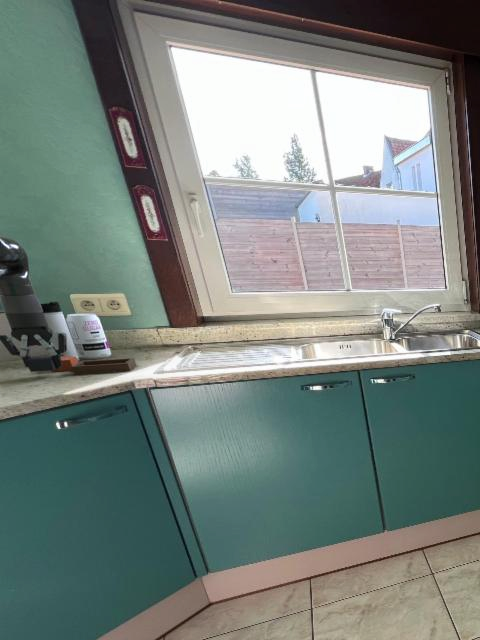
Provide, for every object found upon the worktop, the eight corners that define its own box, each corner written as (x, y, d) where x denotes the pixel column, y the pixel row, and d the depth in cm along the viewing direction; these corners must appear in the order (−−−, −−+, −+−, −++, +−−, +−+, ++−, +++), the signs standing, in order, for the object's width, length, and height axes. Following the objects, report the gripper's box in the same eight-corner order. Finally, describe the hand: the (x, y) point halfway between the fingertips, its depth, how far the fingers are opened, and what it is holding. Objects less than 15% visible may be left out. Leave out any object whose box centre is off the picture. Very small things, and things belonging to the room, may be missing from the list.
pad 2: (52, 372, 155) (47, 361, 154) (58, 368, 160) (54, 357, 159) (73, 370, 158) (69, 359, 157) (79, 366, 163) (75, 356, 161)
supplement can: (91, 355, 179) (76, 313, 174) (117, 355, 181) (103, 313, 175) (74, 359, 172) (57, 315, 166) (101, 359, 173) (86, 316, 168)
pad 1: (30, 371, 146) (25, 360, 144) (37, 367, 150) (33, 356, 149) (54, 370, 148) (49, 359, 147) (60, 366, 153) (56, 355, 152)
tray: (74, 374, 153) (71, 366, 152) (83, 369, 160) (80, 361, 159) (130, 371, 159) (127, 363, 158) (136, 365, 167) (134, 358, 166)
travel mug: (68, 364, 166) (45, 302, 158) (48, 363, 166) (24, 302, 158) (86, 360, 172) (64, 301, 164) (67, 359, 171) (44, 300, 164)
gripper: (-19, 312, 136) (6, 372, 143) (53, 311, 144) (74, 368, 150) (-7, 309, 142) (16, 367, 148) (62, 308, 149) (81, 363, 156)
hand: (45, 367), depth 149 cm, fingers closed on pad 1, 5 cm apart
